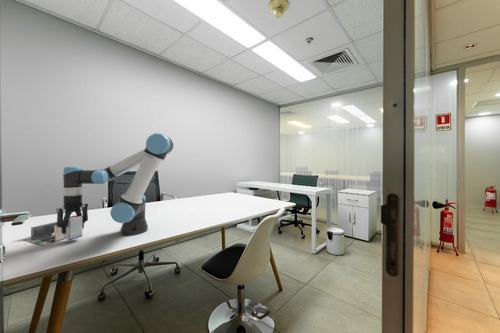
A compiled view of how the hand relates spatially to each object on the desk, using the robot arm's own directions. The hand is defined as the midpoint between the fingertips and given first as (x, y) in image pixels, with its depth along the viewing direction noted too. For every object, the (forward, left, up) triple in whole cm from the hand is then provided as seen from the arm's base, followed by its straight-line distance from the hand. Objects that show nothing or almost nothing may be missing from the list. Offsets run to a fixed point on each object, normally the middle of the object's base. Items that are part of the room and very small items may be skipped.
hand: (73, 236), depth 107 cm
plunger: (+11, +3, -2) cm, 11 cm away
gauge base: (+15, +2, -2) cm, 16 cm away
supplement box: (0, 0, -1) cm, 1 cm away
